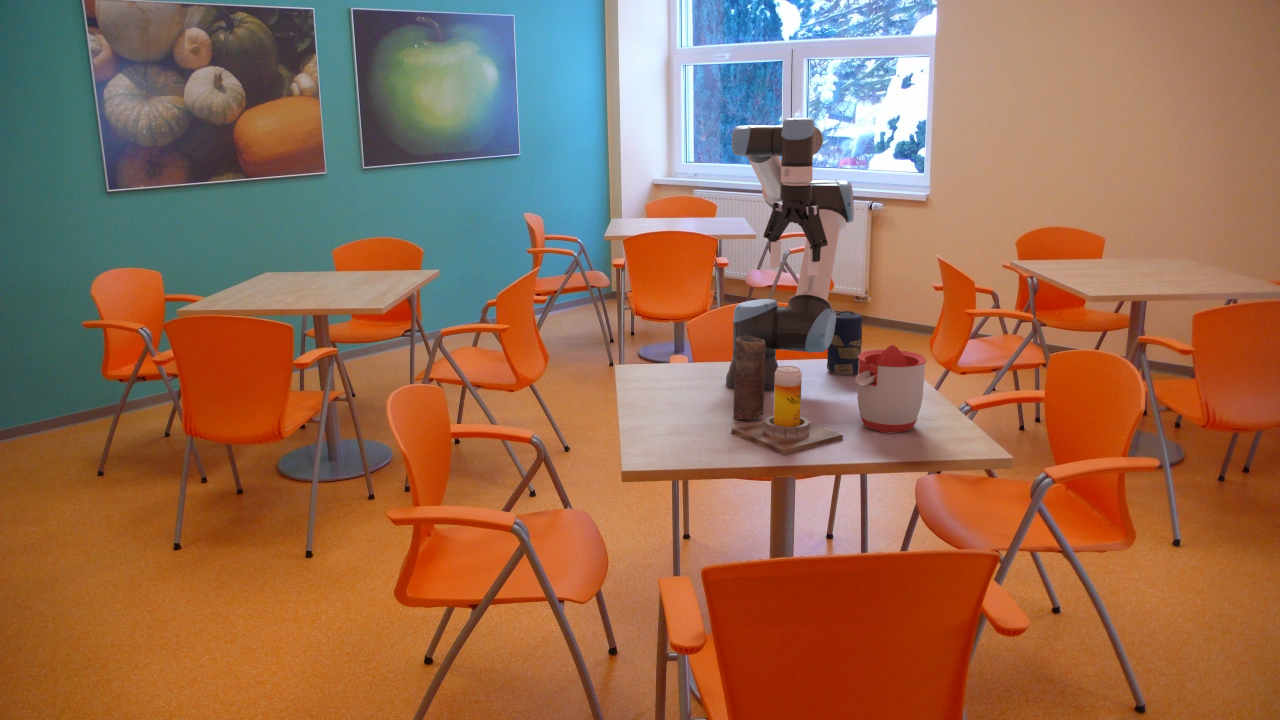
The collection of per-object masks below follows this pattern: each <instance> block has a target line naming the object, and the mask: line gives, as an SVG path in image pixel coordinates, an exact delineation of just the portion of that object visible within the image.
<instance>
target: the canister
mask: <svg viewBox="0 0 1280 720" xmlns="http://www.w3.org/2000/svg"><path fill="white" fill-rule="evenodd" d="M835 313H836V324H835V331H834V335H833V339H832V341H831V344H830V346H829V347H828V349H827V350H826V351H827V352H826V353H827V354H826V355H827V356H826V357H827V358H826V359H827V360H826V370H827V371H828V372H830V373H832V374H835V375H842V376H849V375H850V376H851V375H855V374H858V367H859V359H858V355H859V354H860V353H862V345H863V344H862V343H863V339H862V338H863V317H862V315H861V314H860V313H858V312H857V313H856V312H853V311H849V310H843V311H839V312H835Z"/></svg>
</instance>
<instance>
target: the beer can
mask: <svg viewBox="0 0 1280 720" xmlns="http://www.w3.org/2000/svg"><path fill="white" fill-rule="evenodd" d="M802 375H803V374H802V372H801V368H800V367H798V366H795V365H794V366H792V365H782V366H778V367H777V370H776V372H775V383H774V390H773V391H774V392H773V416H774V420H773V424H774V425H777V426H784V427H795V426H800V416H801V409H802V408H801V407H802V406H801V405H802Z"/></svg>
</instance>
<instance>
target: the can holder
mask: <svg viewBox="0 0 1280 720" xmlns="http://www.w3.org/2000/svg"><path fill="white" fill-rule="evenodd" d="M773 420H774V415H771V416H767V417H766V418H765V419H764V420H762V421H758V422H754V423H749V424H745V425H741V426H737V427H733V428H731V434H732V435H734V436H736V437H740V438H742V439H744V440H746V441H749V442H750V443H753V444H756V445H759V446H761V447H763V448H766V449H768V450H771V451H773V452H776V453H778V454H780V455H783V456H784V455H788V454H791V453H797V452H800V451H804V450H808V449H812V448H815V447H819V446H823V445H827V444H831V443H835V442H838V441H839V442H840V441H842V440H843V439H844V438H843V436H844V435H843V434H842V433H839V432H837V431H834V430H832V429H829V428H826V427H823V426H821V425H818V424H815V423H812V422H810V421H809V420H808V418H807V417H803V416H801V415H800V426H795V427H784V426H777V425H774V424H773Z"/></svg>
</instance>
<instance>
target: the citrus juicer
mask: <svg viewBox="0 0 1280 720" xmlns="http://www.w3.org/2000/svg"><path fill="white" fill-rule="evenodd" d="M858 359H859V367H858V373H857V375H856V377H855V379H854V380H855V381H854V382H855V383H856V384H857V387H856V389H857V390H856V391H857V397H856V398H857V404H858V410H859V411H858V412H859V416H860V419H861V422H862V424H863V426H865V427H866V428H867V429H870V430H872V431H873V430H874V431H877V432H883V434H884V433H885V434H892V433H902V432H904V433H905V432H908V431H911V430H912V429H913V428H914V425H915V424H916V423H917V420H918V417H919V414H920V411H921V407H922V404H923V397H924V385H925V384H924V383H925V373H926V372H925V370H926V368H925V367H926V363H927V358H926V356H924V355H921V354H920V353H917V352H912V351H908V350H907V351H906V350H900V349H899V348H898V347H897V346H896V345H895V344H890V345H889V346H888V347H886V349H870V350H866V351H861V353H860V354H859V355H858Z"/></svg>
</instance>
